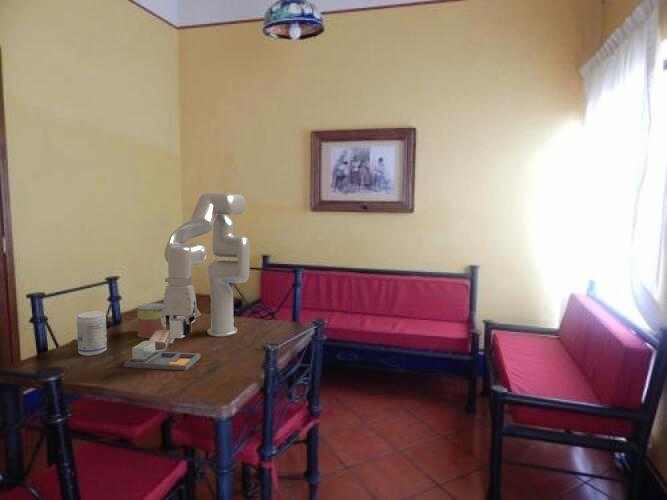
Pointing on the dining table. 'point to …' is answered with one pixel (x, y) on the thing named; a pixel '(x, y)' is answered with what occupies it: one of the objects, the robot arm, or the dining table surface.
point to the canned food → (150, 319)
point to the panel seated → (143, 351)
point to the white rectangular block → (177, 327)
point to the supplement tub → (91, 333)
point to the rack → (166, 361)
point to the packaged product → (161, 339)
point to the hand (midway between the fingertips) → (181, 333)
